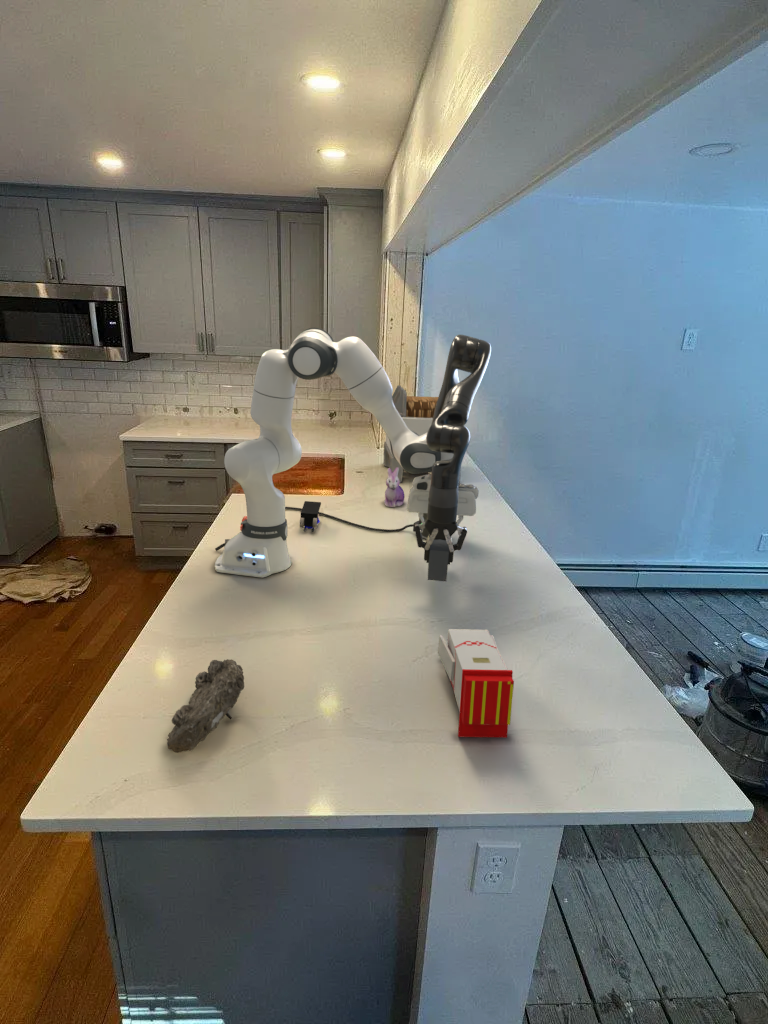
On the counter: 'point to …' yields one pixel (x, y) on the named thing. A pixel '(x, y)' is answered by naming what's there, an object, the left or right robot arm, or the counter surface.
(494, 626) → the counter surface
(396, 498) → the figurine
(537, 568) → the counter surface
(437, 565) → the bar
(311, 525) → the figurine character
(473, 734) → the toy
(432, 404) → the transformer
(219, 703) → the fossil
